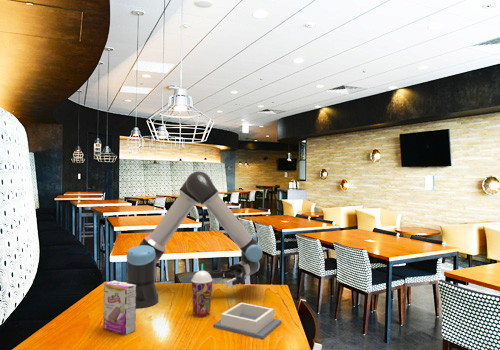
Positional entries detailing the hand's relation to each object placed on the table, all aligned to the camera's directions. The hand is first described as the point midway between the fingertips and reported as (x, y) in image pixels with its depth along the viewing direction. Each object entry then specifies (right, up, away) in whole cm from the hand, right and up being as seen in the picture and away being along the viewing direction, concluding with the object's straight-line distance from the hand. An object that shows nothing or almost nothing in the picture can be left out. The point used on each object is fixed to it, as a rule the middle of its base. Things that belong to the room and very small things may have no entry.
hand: (213, 282), depth 151 cm
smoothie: (-4, -11, -6) cm, 13 cm away
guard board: (+14, -11, -16) cm, 24 cm away
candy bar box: (-31, -11, -22) cm, 40 cm away
